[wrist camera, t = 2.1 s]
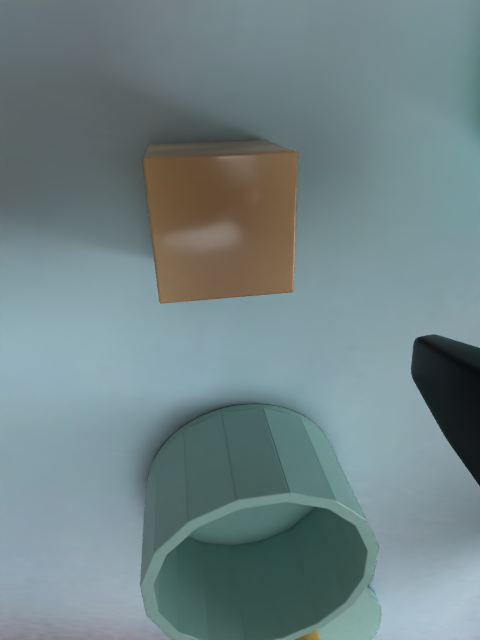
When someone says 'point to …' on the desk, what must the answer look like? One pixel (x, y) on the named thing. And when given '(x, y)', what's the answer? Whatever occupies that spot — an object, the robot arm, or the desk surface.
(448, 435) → the robot arm
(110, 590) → the desk surface
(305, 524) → the tin
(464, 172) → the desk surface
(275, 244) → the block
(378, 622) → the lid
